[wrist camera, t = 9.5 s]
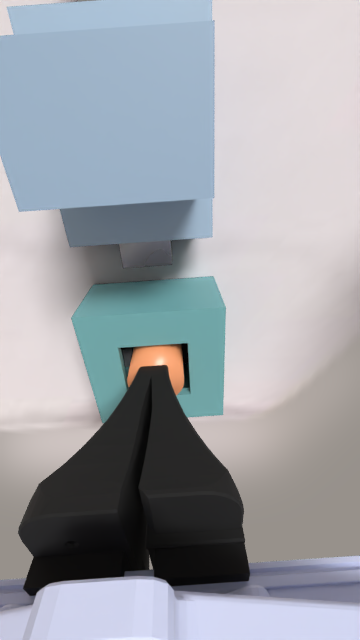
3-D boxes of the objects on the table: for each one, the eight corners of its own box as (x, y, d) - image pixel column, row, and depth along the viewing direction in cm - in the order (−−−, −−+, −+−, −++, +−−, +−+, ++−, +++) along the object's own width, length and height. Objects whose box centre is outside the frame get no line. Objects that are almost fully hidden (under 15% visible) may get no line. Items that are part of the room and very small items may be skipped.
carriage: (201, 36, 10) (245, -149, 4) (204, 224, 14) (231, 268, 8) (47, 46, 10) (-125, -122, 4) (88, 232, 14) (25, 282, 8)
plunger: (179, 315, 16) (182, 357, 13) (182, 353, 17) (185, 400, 14) (133, 319, 16) (122, 361, 13) (139, 356, 17) (131, 403, 14)
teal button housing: (213, 276, 16) (225, 307, 12) (213, 369, 19) (222, 415, 16) (89, 284, 16) (66, 318, 12) (112, 376, 19) (99, 423, 16)
